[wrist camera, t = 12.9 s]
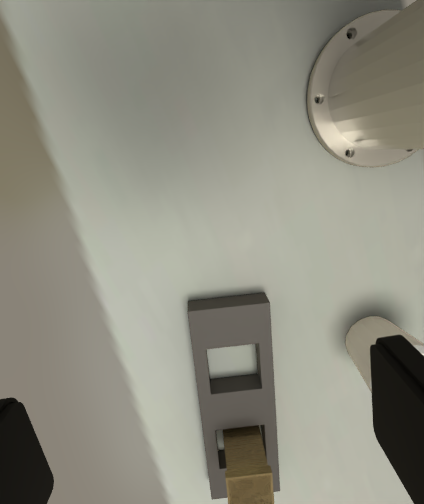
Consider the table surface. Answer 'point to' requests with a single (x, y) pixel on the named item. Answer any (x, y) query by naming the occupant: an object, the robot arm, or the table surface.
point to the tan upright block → (247, 467)
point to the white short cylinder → (372, 342)
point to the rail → (234, 378)
